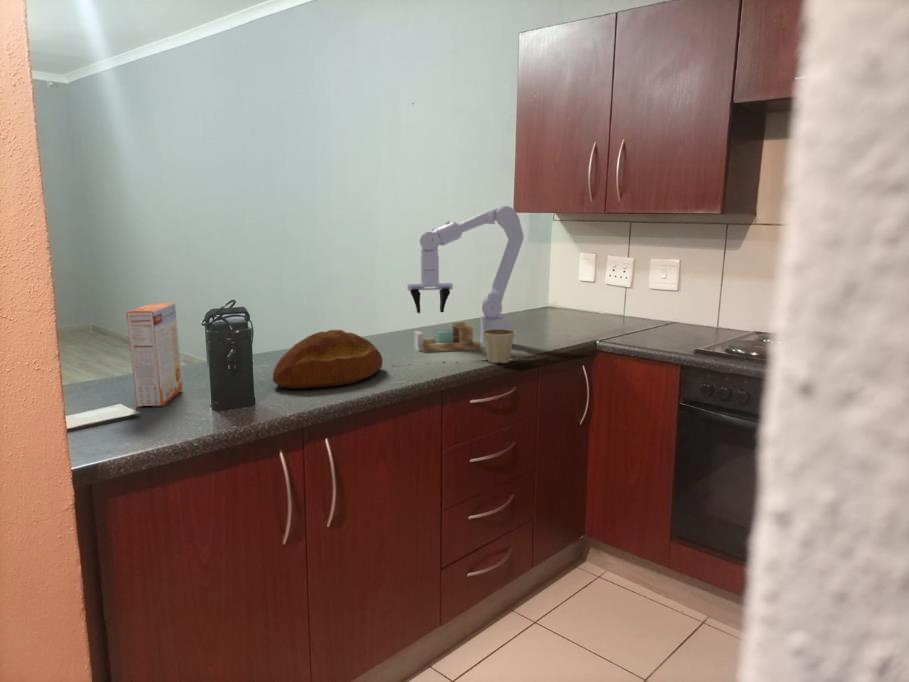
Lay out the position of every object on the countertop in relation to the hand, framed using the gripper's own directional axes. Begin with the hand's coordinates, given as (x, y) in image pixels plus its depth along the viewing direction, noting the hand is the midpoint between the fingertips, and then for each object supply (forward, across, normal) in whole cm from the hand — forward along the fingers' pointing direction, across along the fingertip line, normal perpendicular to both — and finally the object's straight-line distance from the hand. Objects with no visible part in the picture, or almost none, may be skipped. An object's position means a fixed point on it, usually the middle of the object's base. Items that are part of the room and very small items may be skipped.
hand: (430, 312), depth 212 cm
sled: (+10, +1, +12) cm, 15 cm away
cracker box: (+11, +73, +52) cm, 90 cm away
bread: (+11, +34, +41) cm, 55 cm away
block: (+9, -2, +12) cm, 15 cm away
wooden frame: (+10, -3, +12) cm, 16 cm away
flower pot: (+11, -13, +32) cm, 36 cm away
